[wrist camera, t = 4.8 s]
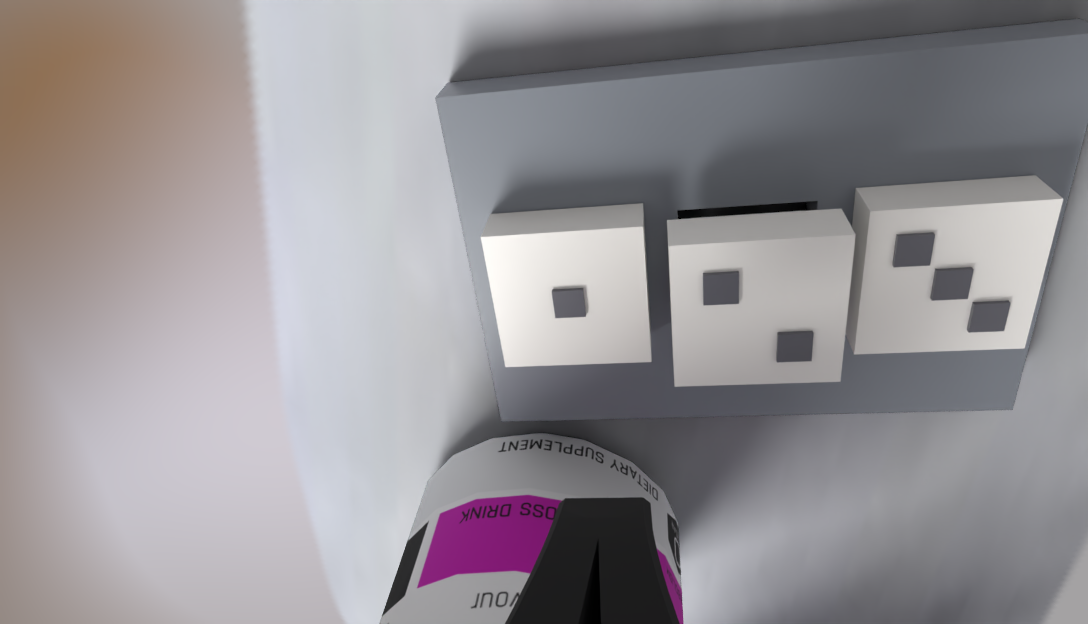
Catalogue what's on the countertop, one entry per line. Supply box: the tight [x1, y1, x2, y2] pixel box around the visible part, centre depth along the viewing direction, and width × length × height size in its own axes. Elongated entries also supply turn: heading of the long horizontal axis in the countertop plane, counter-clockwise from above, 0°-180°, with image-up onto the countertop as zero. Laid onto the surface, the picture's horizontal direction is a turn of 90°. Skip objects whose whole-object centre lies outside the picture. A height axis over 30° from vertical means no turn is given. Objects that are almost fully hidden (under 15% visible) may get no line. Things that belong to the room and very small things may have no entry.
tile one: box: [481, 203, 652, 367], centre depth 18 cm, size 4×4×2 cm
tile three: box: [845, 175, 1063, 355], centre depth 16 cm, size 4×4×2 cm
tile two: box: [667, 209, 856, 387], centre depth 16 cm, size 4×4×2 cm
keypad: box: [436, 19, 1088, 422], centre depth 17 cm, size 9×13×1 cm
